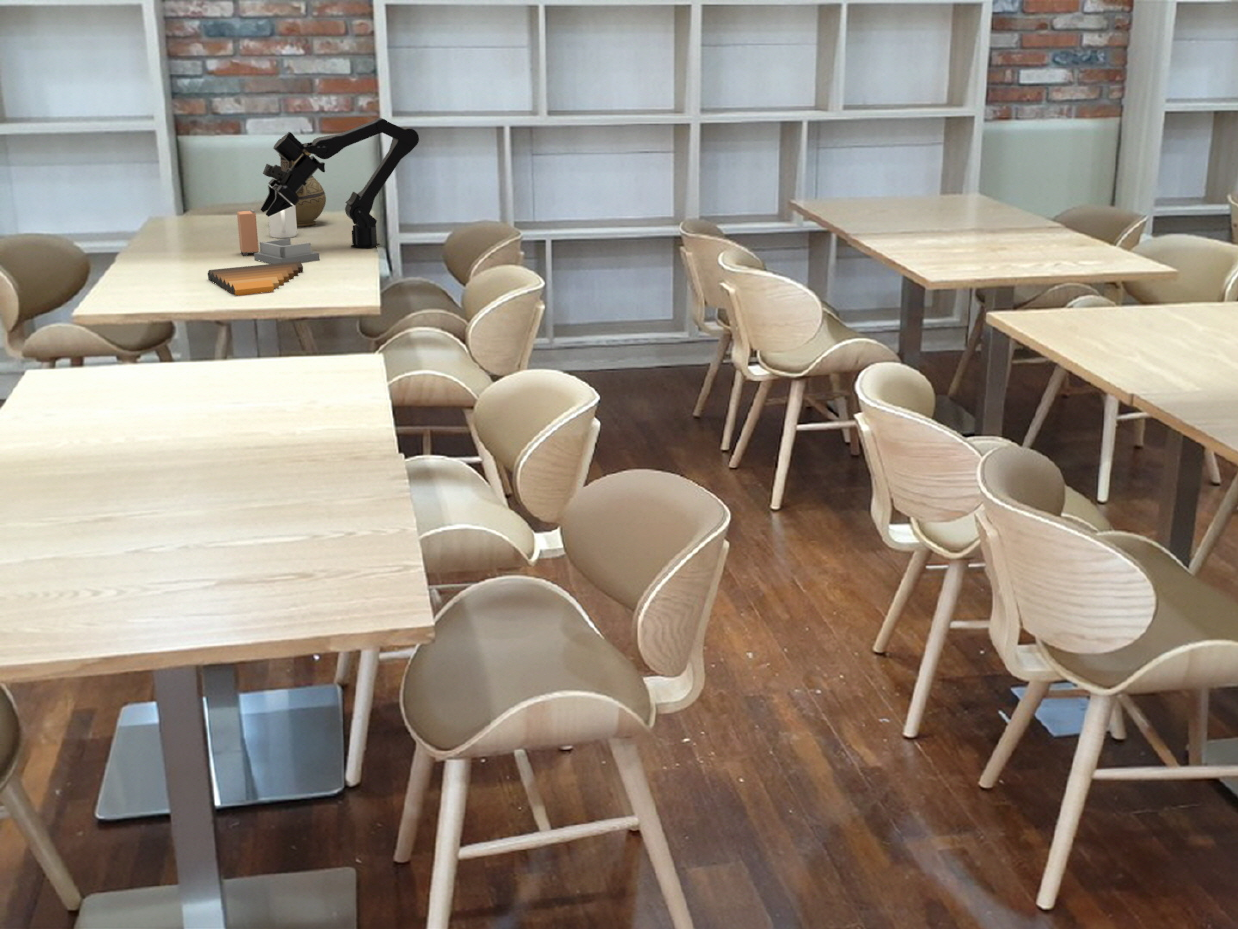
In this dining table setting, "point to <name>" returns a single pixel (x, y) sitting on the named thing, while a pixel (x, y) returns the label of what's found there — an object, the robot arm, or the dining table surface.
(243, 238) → the peach block
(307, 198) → the decorative pitcher
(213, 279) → the pan flute
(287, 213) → the mug
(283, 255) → the dock
